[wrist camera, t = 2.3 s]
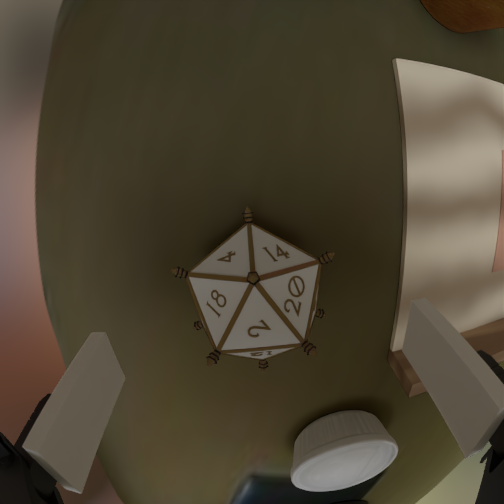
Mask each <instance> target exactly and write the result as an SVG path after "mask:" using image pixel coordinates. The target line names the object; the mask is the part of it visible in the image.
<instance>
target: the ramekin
mask: <svg viewBox="0 0 504 504" xmlns="http://www.w3.org/2000/svg"><path fill="white" fill-rule="evenodd" d="M397 453H398V445H397V443H396V441H395V440H394V438H392V437H391V436H390V435H389V434H388V432H387V431H386V429H385V428H384V426H383V425H382V423H381V422H380V421H379V420H378V418H377V417H376V416H375V415H373V414H371V413H368V412H365V411H361V410H347V411H340V412H336V413H332V414H329V415H326V416H324V417H322V418H319V419H317V420H316V421H314V422H312V423H311V424H309V425H308V426H307V427H306V428H305V429H304V430H303V431H302V432H301V433H300V434H299V436H298V437H297V439H296V441H295V444H294V455H293V466H292V469H291V480H292V483H293V484H294V485H295V486H296V487H298V488H300V489H303V490H307V491H317V492H319V491H320V492H322V491H333V490H339V489H343V488H347V487H350V486H353V485H356V484H359V483H361V482H364V481H366V480H368V479H370V478H372V477H374V476H375V475H377V474H378V473H380V472H381V471H383V470H384V469H385V468H386V467H388V466H389V465H390V464H391V463H392V462H393V460H394V459H395V457H396V456H397Z"/></svg>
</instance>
